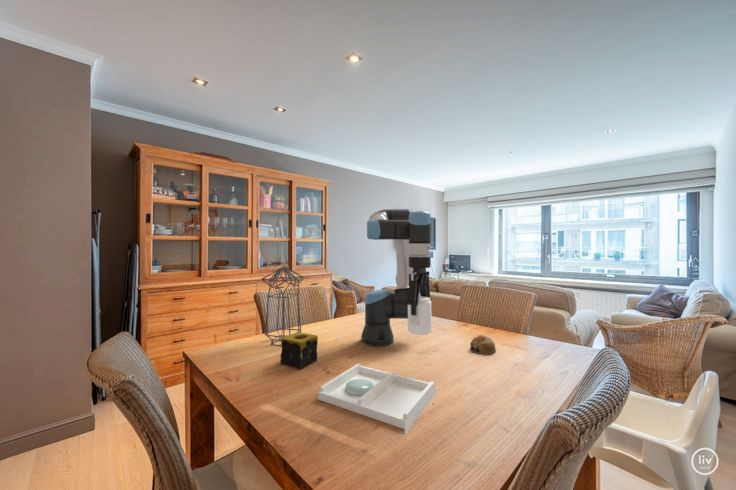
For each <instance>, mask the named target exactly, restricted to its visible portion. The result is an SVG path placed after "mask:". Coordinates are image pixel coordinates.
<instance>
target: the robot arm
mask: <svg viewBox="0 0 736 490" xmlns="http://www.w3.org/2000/svg"><path fill="white" fill-rule="evenodd" d="M431 224H432V220H431V213H430V212H429V211H421V210H418V211H417V210H414V209H407V208H406V209H405V208H404V209H401V208H399V209H397V208H396V209H387V208H386V209H381V210H378V211H375V212H374V213H372V214H371V215H370V216H369V218H368V220H367V221H366V238H367V239H368V240H372V241H373V240H374V241H377V240H378V241H379V240H382V241H383V240H395V249H396V253H395V257H396V283H397V285H396V287H395V288H394V289H393V290H394V292H393V293H392V292H391V291H390V290H389V289H377V290H373V291H369V292H368V293H366V295H365V300H364V305H365V306H364V307H365V308H364V311H365V312H364V313H365V314H364V327H363V330H362V333H361V336H360V339H361V340H360V341H361V343H363V344H365V345H368V346H374V347H375V346H376V347H380V346H381V347H382V346H389V345H391V344H393V343H394V342H395V341H394V340H395V338H394V337H395V336H394V333H393V330H392V327H391V319H396V320H397V319H404V320H405V319H407V320H408V305H411V324H412V325H419V305H418V299H419V296H423V297H429V298H430V300H432V299H431V289H430V288H431V287H430V285H431V284H430V271H429V270H427V269H429V268H430V267H431V265H432V263H431V261H432V260H431V257H430V255H431V250H432V249H433V248H432V246H431V235H432V234H431Z"/></svg>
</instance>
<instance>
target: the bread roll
mask: <svg viewBox="0 0 736 490" xmlns="http://www.w3.org/2000/svg"><path fill="white" fill-rule="evenodd" d="M470 349H471V350H472V351H473V352H475V353H480V354H485V355H487V354H493V353H496V352H497V350H496V344H495V342H494V340H493V339H492V338H491V337H489V336H488V335H482V334H481V335H477V336H476V337H474V338H472V339H471V342H470Z"/></svg>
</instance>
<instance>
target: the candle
mask: <svg viewBox="0 0 736 490" xmlns="http://www.w3.org/2000/svg"><path fill="white" fill-rule="evenodd" d="M288 335H289V334H288ZM318 338H319V337H318V335H316V334H311V333H305V332H302V331H301V332H299V331H298V332H297V331H296V332H294V333H292V334H291V335H289V336H286V337H283V338H280V339H281V341H280V345H281V346H280V347H281V351H280V352H281V353H280V363H279V364H280V365H281V366H285V367H289V368H295V369H298V370H302V369H305V368H307V367H309V366H310V365H311V364H313V363H315V362H317V361H318V342H319V341H318Z"/></svg>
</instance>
